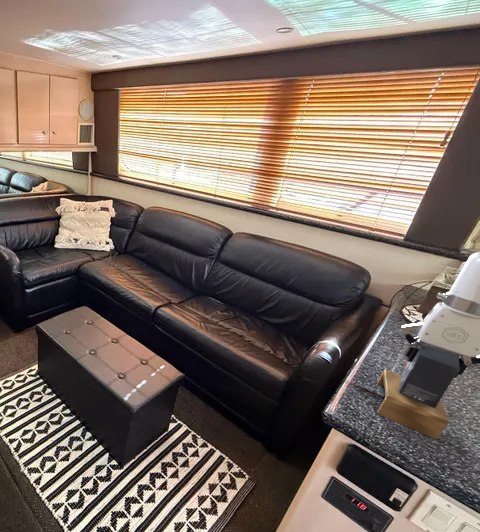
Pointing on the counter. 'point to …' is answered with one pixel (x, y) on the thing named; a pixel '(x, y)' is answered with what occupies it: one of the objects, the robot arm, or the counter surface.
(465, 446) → the counter surface
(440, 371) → the small box
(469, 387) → the counter surface
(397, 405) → the tan bracket
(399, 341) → the counter surface
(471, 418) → the counter surface
